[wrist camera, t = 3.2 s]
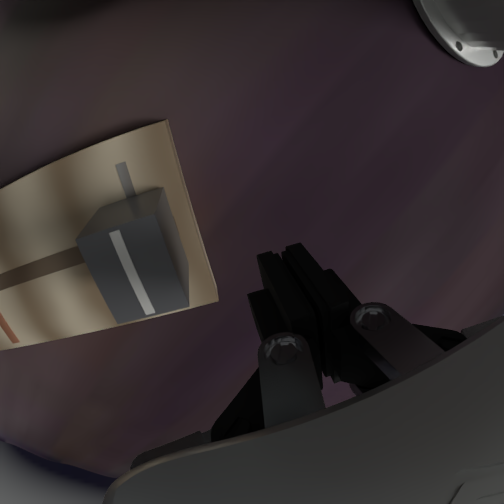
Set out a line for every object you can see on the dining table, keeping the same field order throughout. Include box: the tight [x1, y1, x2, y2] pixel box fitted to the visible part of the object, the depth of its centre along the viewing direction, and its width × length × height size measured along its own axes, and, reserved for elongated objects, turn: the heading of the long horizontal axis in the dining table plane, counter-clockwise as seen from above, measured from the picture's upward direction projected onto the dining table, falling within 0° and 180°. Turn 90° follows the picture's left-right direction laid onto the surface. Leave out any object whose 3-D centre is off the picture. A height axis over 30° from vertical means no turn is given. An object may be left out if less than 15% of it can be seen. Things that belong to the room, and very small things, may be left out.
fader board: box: [0, 119, 219, 351], centre depth 18 cm, size 26×12×2 cm, turn 102°
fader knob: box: [75, 187, 190, 324], centre depth 16 cm, size 4×5×4 cm
